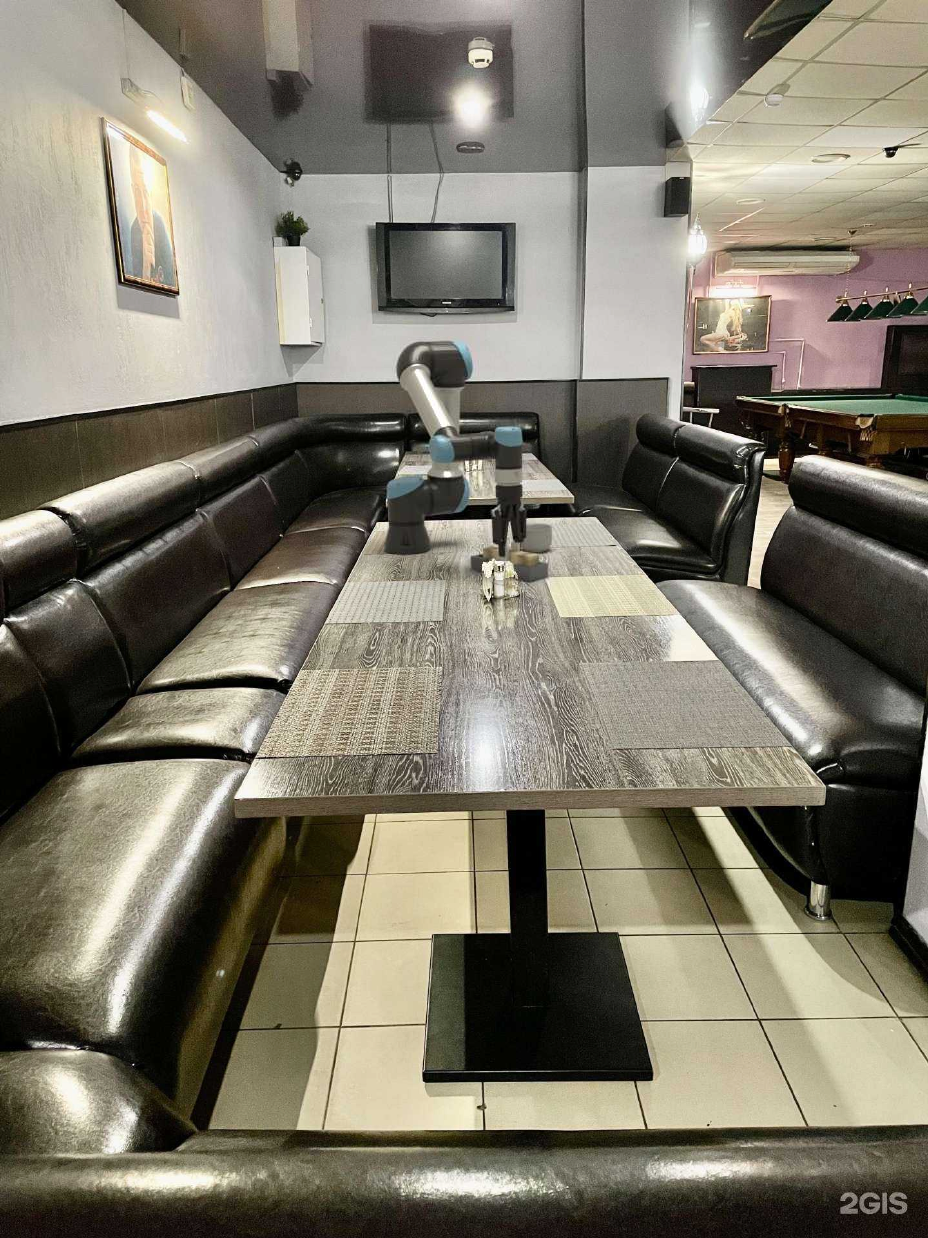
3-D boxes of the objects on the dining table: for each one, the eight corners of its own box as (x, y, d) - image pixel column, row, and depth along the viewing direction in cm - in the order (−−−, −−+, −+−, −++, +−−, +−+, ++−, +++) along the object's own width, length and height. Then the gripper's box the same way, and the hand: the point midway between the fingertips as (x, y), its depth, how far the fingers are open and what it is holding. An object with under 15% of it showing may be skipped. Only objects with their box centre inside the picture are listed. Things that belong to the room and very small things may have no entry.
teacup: (553, 553, 273) (553, 528, 271) (518, 554, 273) (518, 529, 271) (549, 544, 286) (549, 520, 284) (516, 545, 287) (516, 521, 284)
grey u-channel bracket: (471, 569, 255) (470, 556, 254) (488, 565, 260) (488, 552, 259) (485, 572, 251) (485, 559, 250) (503, 568, 256) (503, 554, 255)
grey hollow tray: (547, 577, 244) (548, 563, 243) (530, 582, 239) (530, 567, 238) (531, 573, 249) (531, 560, 247) (514, 578, 244) (513, 564, 242)
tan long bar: (483, 565, 254) (482, 548, 252) (492, 563, 256) (492, 546, 255) (529, 574, 241) (529, 556, 240) (539, 571, 244) (539, 554, 243)
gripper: (497, 488, 234) (498, 573, 241) (539, 481, 245) (539, 562, 252) (477, 486, 239) (479, 569, 246) (519, 479, 251) (520, 559, 257)
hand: (509, 565), depth 249 cm, fingers closed on tan long bar, 4 cm apart
